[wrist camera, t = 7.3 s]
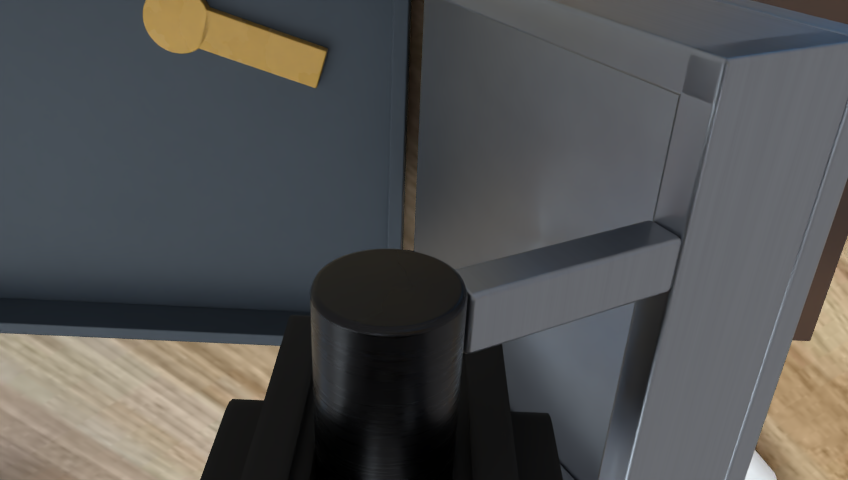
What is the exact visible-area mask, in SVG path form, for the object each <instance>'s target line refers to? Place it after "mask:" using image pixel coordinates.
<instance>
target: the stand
mask: <svg viewBox="0 0 848 480" xmlns="http://www.w3.org/2000/svg"><path fill="white" fill-rule="evenodd" d="M752 1H756V2H760V3H764V4H768V5H772V6H776V7H780V8H784V9H788V10H792V11H796V12H800V13H804V14H808V15H812V16H816V17H820V18H824V19H827V20H831V21H835V22H839V23H843V24H847V25H848V0H752ZM847 236H848V179H847V181H846V184H845V187H844V190H843V193H842V196H841V199H840V202H839V205H838V208H837V211H836V214H835V217H834V219H833V222H832V225H831V228H830V231H829V234H828V237H827V240H826V243H825V246H824V249H823V252H822V255H821V258H820V260H819V263H818V266H817V269H816V272H815V275H814V278H813V281H812V284H811V287H810V290H809V293H808V296H807V298H806V301H805V304H804V307H803V310H802V313H801V316H800V319H799V322H798V325H797V328H796V331H795V334H794V337H793V339H792V340H798V341H810V340H811V337H812V334H813V331H814V328H815V326H816V323H817V320H818V317H819V314H820V312H821V309H822V306H823V303H824V300H825V298H826V295H827V292H828V289H829V286H830V283H831V281H832V278H833V275H834V272H835V269H836V267H837V264H838V261H839V258H840V255H841V253H842V250H843V247H844V244H845V241H846V239H847Z"/></svg>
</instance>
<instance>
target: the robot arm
mask: <svg viewBox="0 0 848 480" xmlns="http://www.w3.org/2000/svg"><path fill="white" fill-rule="evenodd" d="M200 480H316V454H315V426H314V397H313V369H312V340H311V316H302V315H291V316H290V317H289V320H288V323H287V326H286V329H285V333H284V336H283V339H282V343H281V346H280V349H279V353H278V356H277V359H276V363H275V366H274V369H273V373H272V376H271V379H270V383H269V386H268V389H267V392H266V396H265V399H264V400H241V399H232V400H231V401H230V402H229V404H228V406H227V408H226V410H225V413H224V416H223V418H222V421H221V424H220V427H219V429H218V432H217V435H216V438H215V440H214V443H213V446H212V449H211V452H210V454H209V457H208V460H207V463H206V465H205V468H204V471H203V474H202V476H201V479H200ZM451 480H563V477H562V472H561V466H560V461H559V456H558V451H557V445H556V440H555V435H554V430H553V424H552V421H551V417H550V415H549V414H548V413H538V412H516V411H510V403H509V395H508V387H507V379H506V371H505V363H504V355H503V347H502V344H500V345H497V346H494V347H491V348H488V349H484V350H481V351H478V352H475V353H472V354H466V353H463V358H462V370H461V382H460V394H459V405H458V417H457V429H456V441H455V453H454V458H453V466H452V478H451Z"/></svg>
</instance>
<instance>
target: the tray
mask: <svg viewBox="0 0 848 480" xmlns="http://www.w3.org/2000/svg"><path fill="white" fill-rule="evenodd" d="M145 1H146V0H0V333H14V334H35V335H57V336H79V337H101V338H122V339H144V340H166V341H188V342H209V343H231V344H253V345H274V346H281V343H282V339H283V336H284V333H285V329H286V326H287V323H288V320H289V317H290V316H291V315H302V316H311V312H310V289H311V285H312V283H313V281H314V279H315V277H316V275H317V274H318V272H319V271H320V270H321V269H322V268H323V267H325V266H326V265H327V264H329V263H330V262H332V261H333V260H335V259H338V258H340V257H342V256H345V255H348V254H351V253H354V252H359V251H364V250H371V249H403V231H404V202H405V172H406V143H407V114H408V84H409V55H410V26H411V0H206V2H207V3H208V5H209V7H211V8H214V9H217V10H219V11H222V12H225V13H228V14H231V15H234V16H237V17H239V18H242V19H245V20H248V21H251V22H254V23H257V24H260V25H262V26H265V27H268V28H271V29H274V30H277V31H280V32H282V33H285V34H288V35H291V36H294V37H297V38H300V39H303V40H305V41H308V42H311V43H314V44H317V45H320V46H323V47H325V48H328V52H327V56H326V59H325V63H324V66H323V70H322V73H321V76H320V80H319V83H318V86H317V88H313V87H310V86H307V85H304V84H302V83H299V82H296V81H293V80H290V79H287V78H284V77H281V76H278V75H275V74H272V73H269V72H266V71H263V70H260V69H257V68H255V67H252V66H249V65H246V64H243V63H240V62H237V61H234V60H231V59H228V58H225V57H222V56H219V55H216V54H213V53H210V52H207V51H205V50H202V49H197V50H196V51H193V52H191V53H185V54H179V53H173V52H170V51H167V50H165V49H164V48H162V47H160V46H159V45H158V44H157V43H155V42H154V40H153V39H152V38H151V37H150V35H149V34H148V32H147V30H146V28H145V25H144V22H143V7H144V3H145Z"/></svg>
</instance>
